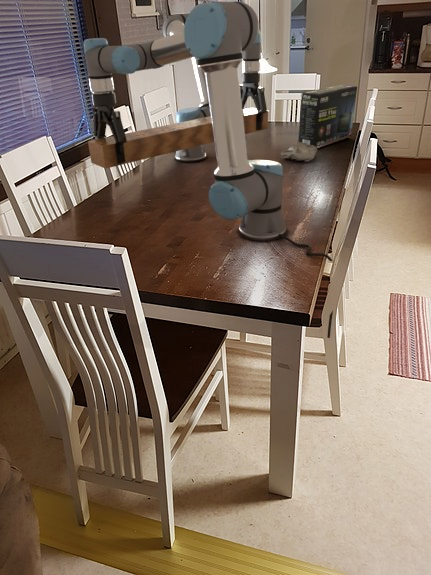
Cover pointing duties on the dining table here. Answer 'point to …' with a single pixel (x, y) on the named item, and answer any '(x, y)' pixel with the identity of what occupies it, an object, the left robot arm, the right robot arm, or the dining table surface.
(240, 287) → the dining table surface
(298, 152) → the fossil
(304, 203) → the dining table surface
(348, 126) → the router box
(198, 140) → the wooden beam
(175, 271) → the dining table surface
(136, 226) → the dining table surface
